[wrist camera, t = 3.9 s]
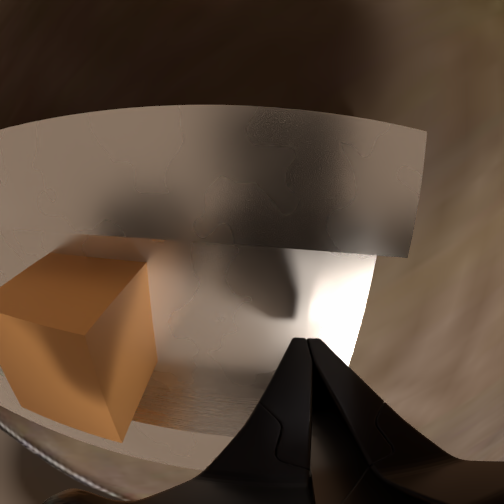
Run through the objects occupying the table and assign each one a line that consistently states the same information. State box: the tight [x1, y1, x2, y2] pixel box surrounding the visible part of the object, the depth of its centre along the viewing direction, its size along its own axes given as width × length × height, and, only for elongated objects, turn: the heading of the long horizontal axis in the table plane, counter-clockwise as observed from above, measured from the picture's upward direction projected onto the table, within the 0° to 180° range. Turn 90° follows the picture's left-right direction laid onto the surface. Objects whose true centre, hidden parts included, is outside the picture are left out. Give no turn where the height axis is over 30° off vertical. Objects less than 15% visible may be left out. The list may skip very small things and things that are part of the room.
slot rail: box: [0, 105, 427, 476], centre depth 11 cm, size 13×18×5 cm
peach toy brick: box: [0, 253, 158, 443], centre depth 8 cm, size 4×4×4 cm
